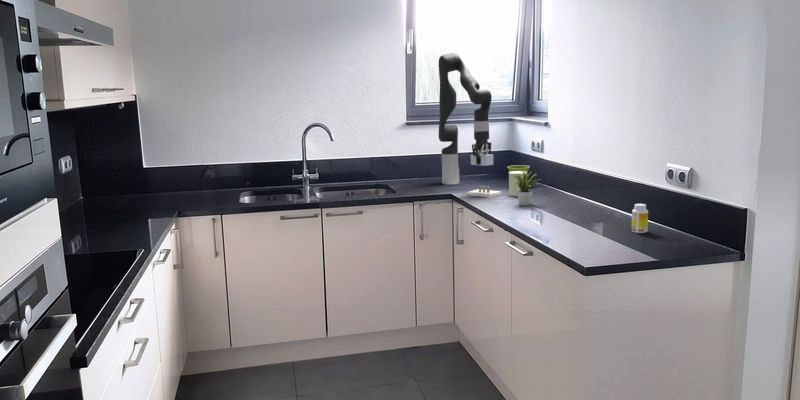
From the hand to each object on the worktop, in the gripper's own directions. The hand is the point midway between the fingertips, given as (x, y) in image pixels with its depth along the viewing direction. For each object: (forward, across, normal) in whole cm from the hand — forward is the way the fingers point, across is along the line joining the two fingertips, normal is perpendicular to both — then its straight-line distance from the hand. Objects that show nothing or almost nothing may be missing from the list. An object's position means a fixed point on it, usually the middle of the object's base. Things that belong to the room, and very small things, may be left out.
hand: (482, 163), depth 319 cm
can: (+16, -9, +15) cm, 24 cm away
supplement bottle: (+18, +34, +95) cm, 102 cm away
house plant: (+17, +12, +32) cm, 38 cm away
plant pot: (+16, -29, +3) cm, 33 cm away
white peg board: (+16, -1, 0) cm, 16 cm away
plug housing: (0, 0, 0) cm, 0 cm away
